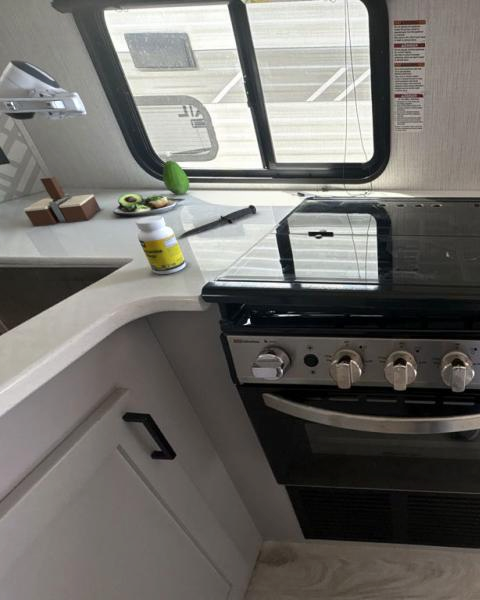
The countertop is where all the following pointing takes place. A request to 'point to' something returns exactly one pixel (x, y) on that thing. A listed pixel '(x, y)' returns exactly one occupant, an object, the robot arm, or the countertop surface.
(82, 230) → the countertop surface
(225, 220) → the knife
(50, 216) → the cake
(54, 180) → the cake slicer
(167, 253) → the pill bottle
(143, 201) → the salad plate
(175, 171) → the avocado
